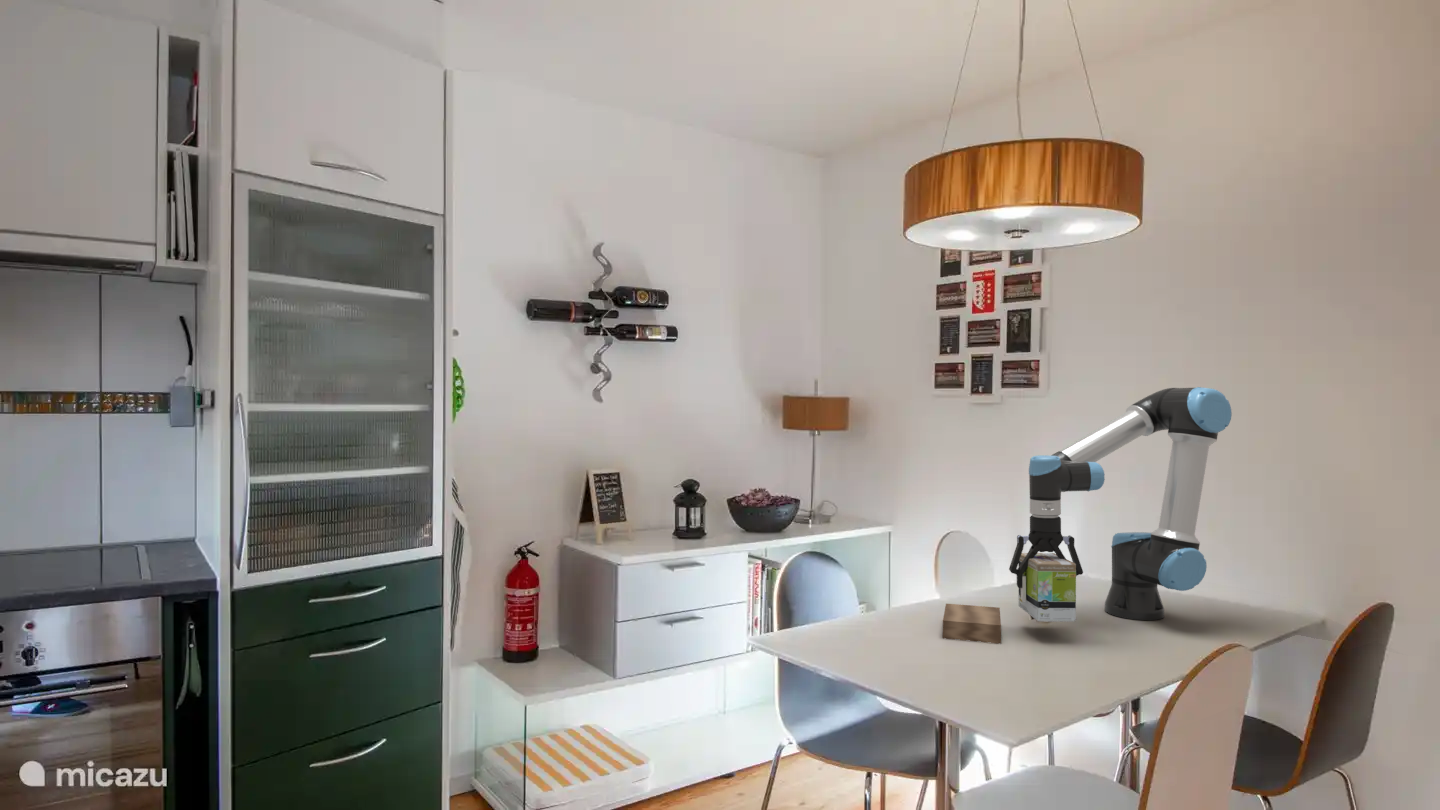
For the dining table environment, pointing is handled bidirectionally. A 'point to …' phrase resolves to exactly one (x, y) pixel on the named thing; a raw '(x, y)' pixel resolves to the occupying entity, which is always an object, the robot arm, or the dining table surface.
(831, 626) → the dining table surface
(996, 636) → the walnut block
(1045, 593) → the tea box
